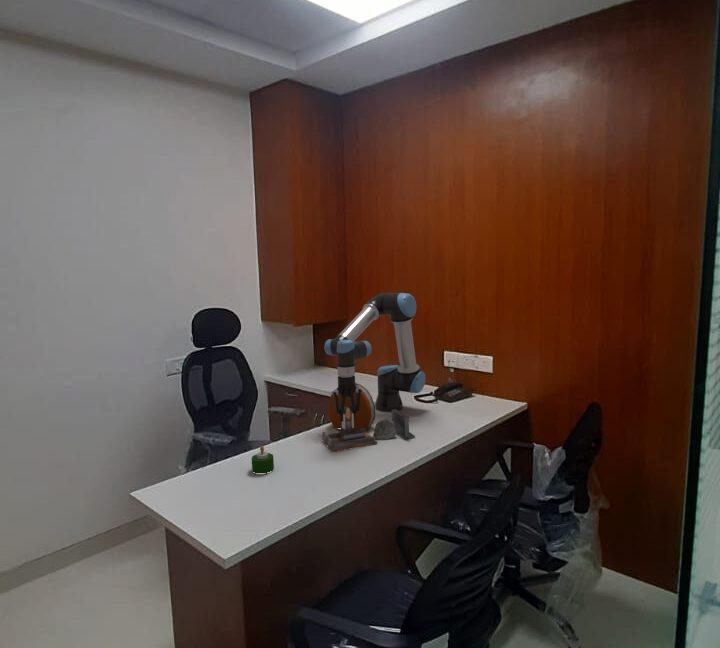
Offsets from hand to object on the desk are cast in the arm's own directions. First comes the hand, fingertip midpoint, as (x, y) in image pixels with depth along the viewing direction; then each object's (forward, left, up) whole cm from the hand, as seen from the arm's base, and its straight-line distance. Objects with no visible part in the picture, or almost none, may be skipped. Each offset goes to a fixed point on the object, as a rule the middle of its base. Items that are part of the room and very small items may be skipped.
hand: (347, 427), depth 215 cm
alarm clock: (-19, +9, -7) cm, 22 cm away
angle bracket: (0, +27, -7) cm, 28 cm away
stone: (0, +18, -7) cm, 19 cm away
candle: (+14, -40, -7) cm, 43 cm away
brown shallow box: (0, +1, -7) cm, 7 cm away
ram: (0, +2, -6) cm, 6 cm away
